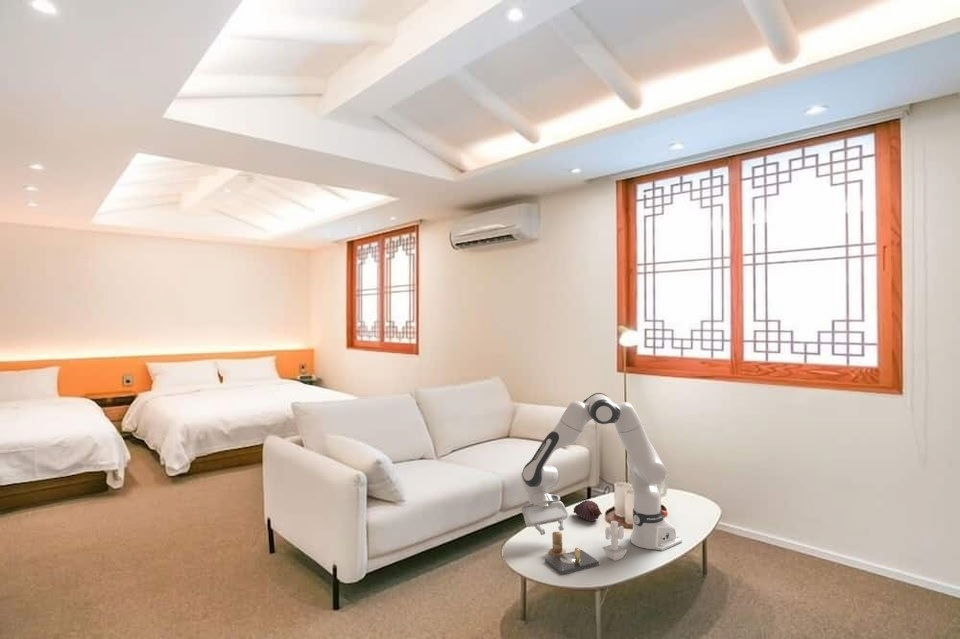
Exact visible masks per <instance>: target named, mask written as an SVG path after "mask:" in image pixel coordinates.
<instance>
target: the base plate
mask: <svg viewBox="0 0 960 639" xmlns="http://www.w3.org/2000/svg"><path fill="white" fill-rule="evenodd" d="M544 563H546V564H547V565H548V566H549V567H551V568H552V569H553V570H554V571H555V572H557V573H558V574H560V576H563V575H566V574H570V573H575V572H578V571H582V570H585V569H590V568H593V567H597V566H599V565H600V560H598V559H597V558H594V557H593V556H592V555H590V554H589V553H587V552H585V550H583V549H580V565H575V550H574V551H571V552H566V554H562V555H557V556H550V557H546V558H544Z"/></svg>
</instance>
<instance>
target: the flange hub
mask: <svg viewBox="0 0 960 639" xmlns="http://www.w3.org/2000/svg"><path fill="white" fill-rule="evenodd" d="M551 534H552V548H551V547H550V549H549V550H548V551H549V552H548V554H549V555H550V557H553V556H557V555H562V554H566V553H567V552H566V551H567V550H566V549H564V548H563V533H562V532H561V531H553V532H552V533H551Z"/></svg>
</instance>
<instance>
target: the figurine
mask: <svg viewBox="0 0 960 639" xmlns="http://www.w3.org/2000/svg"><path fill="white" fill-rule="evenodd" d="M624 528H625V527H624V526H623V525H619V522H618V521H617V520H611V521H610V526H606V527H605V539H606V540H608V541H609V540H611V541H610V544H609V545H605V546H602V550H603V551H604V553H605V555H606V557H607V558H609V559H611V560H613V561H615V562H616V561H618V560H621V559H623V558H624V557H625V555H626V553H627V551H628V549H627V548H625V547H623V546H621V545H619V540H623V539H624V536H625V535H624V534H625V530H624Z"/></svg>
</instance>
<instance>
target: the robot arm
mask: <svg viewBox="0 0 960 639" xmlns="http://www.w3.org/2000/svg"><path fill="white" fill-rule="evenodd" d="M592 420H593V421H594V422H596V423H597V424H599V425H600V424H601V425H608V424H614V426H615V428H616V431H617V433H618V435H619V438H620V441H621V443H622V445H623V447H624V449H625V451H626V452H627V454H628V455H627V457H626V463H627V467H628V468H629V475H630V480H631V486H632V490H633V509H632V518H633V521H632V522H633V523H632V531H631V537H630V543H632V544H633V545H634V546H636V547H639V548H643V549H648V550H657V551H661V552H662V551H665V550H667V549H670V548H671V547H674V546H676V545H678V544H681V543H682V541H683V540H682V538H681V537H680V536H679V535H677V532H676V529H675V526H674V525H672V524H671V523H670V522H669V521H667V520H666V519H665V518H664V517H668V515H669V513H668V511H665V510H661V493H660V490H659V488H658V485H661V484H663V483H664V482H665V481H666V479H667V476H668V470H667V467H666V466H665V465H664V463H663V462H662V460H661V458H660V456H659V454H658V452H657V450H656V449H655V448H654V446H653V444H652V443H651V440H650V439H649V436H648V435H647V432H646V430H645V427H644V425H643V423H642V421H641V418H640V416H639V415H638V412H637V410H636V409H635V408H634V406H633V405H632V404H631V403H630V402H628V401H622V402H621V401H620V402H619V403H614V402H613V401H612V400H611V398H610V397H609V396H608V395H607V394H605V393H602V392H595V393H592V394H591V395H590V396H588V397H587V398H586V399H584V400H583V401H580V400H574V401H571V402H570V403H569V405H568V406H567V407H566V409H565V410H564V412H563V413H562V415H561V417H560V419H559V421H558V423H557V424H556V425H555V427H554V428H553V430H552V431H550V432H549V433H548V434H547V435H546V436H545V438H544V440H542V441H541V444H540V445H539V447H538V449H537V450H536V452H535V454H534V455H533V456H532V458H531V459H530V461H528V462H527V463H526V464H525V465H524V467H523V469H522V472H521V474H520V478H521V482H522V486H523V489H524V491H525V493H526V494H527V497H528V501H529V504H525V505H523V506H522V507H521V514H522V515H523V519H524V522H525V526H526V527H528V528H532V527H535V529H536V530H537V531H538V532H539V534H540V535H541V536H543V535H545V534H546V530H545V529H544V528H543V529H542V527H541V526H542V525H547V524H551V523H556V522H558V524H559V526H558V527H557V528H558V530H559V531H558V532H561V531H564V530H565V529H564V528H565V527H564V521H565V520H566V519H567V518H568V516H569V513H568V510H567V508H566V507H565V506H566V505H565V504H564V503H563V502H562V501H561V497H560V495H556V494H550V493H548V492H547V490H548V489H552V488H553V487H555V486H556V485H557V484H558V483H559V480H560V473H559V469H557V467H556V466H554V465H551V464H547V463H548V461H549V460H550V458H551V456H552V454H554V452H556V451H557V450H559V449H561V448H564V447H568V446H571V445H573V444H574V445H575V443H577V441H578V440H579V439H580V438H581V436H582V434H583V431H584V429H585V428H586V425H587V424H588V423H589V422H590V421H592Z"/></svg>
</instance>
